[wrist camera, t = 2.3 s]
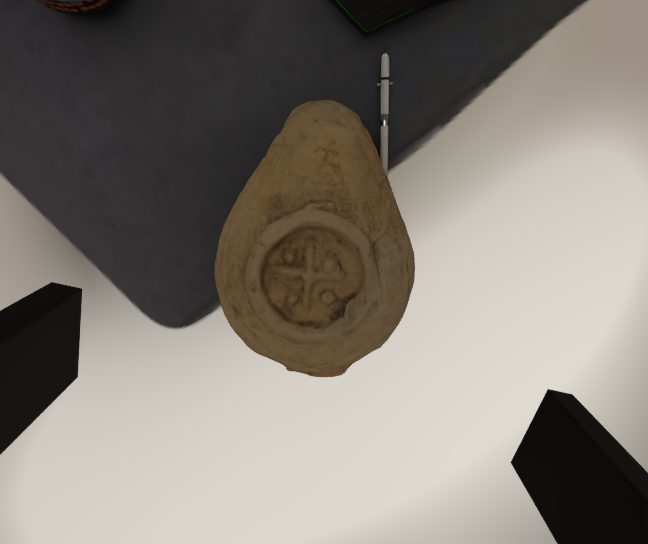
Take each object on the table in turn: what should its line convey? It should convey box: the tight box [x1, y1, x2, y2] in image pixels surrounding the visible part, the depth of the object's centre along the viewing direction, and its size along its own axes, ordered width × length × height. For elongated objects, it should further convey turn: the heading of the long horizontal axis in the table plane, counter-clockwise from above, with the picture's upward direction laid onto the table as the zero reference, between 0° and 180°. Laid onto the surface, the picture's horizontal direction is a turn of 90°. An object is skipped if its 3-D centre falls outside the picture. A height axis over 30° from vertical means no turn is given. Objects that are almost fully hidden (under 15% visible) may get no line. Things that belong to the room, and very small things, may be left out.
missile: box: [377, 44, 393, 175], centre depth 23 cm, size 10×1×1 cm
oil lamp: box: [215, 100, 415, 377], centre depth 23 cm, size 11×15×8 cm
